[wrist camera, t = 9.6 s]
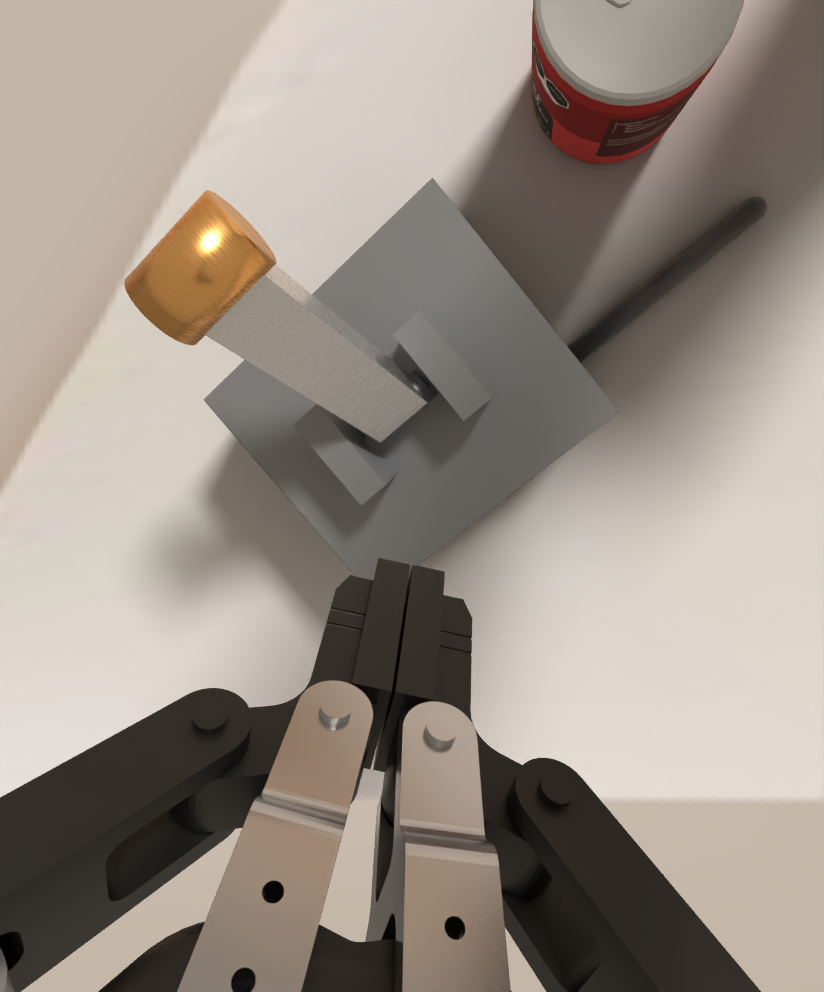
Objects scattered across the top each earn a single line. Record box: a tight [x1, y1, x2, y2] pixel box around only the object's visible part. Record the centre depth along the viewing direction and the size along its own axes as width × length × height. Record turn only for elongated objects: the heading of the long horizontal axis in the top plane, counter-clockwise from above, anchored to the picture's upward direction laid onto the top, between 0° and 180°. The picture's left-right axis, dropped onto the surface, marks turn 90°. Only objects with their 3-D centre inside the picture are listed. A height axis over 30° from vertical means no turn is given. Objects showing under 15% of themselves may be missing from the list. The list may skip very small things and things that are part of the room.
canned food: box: [532, 0, 744, 164], centre depth 30 cm, size 8×8×11 cm
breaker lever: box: [125, 190, 438, 447], centre depth 27 cm, size 4×3×14 cm
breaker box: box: [204, 178, 767, 580], centre depth 34 cm, size 29×14×11 cm, turn 130°
